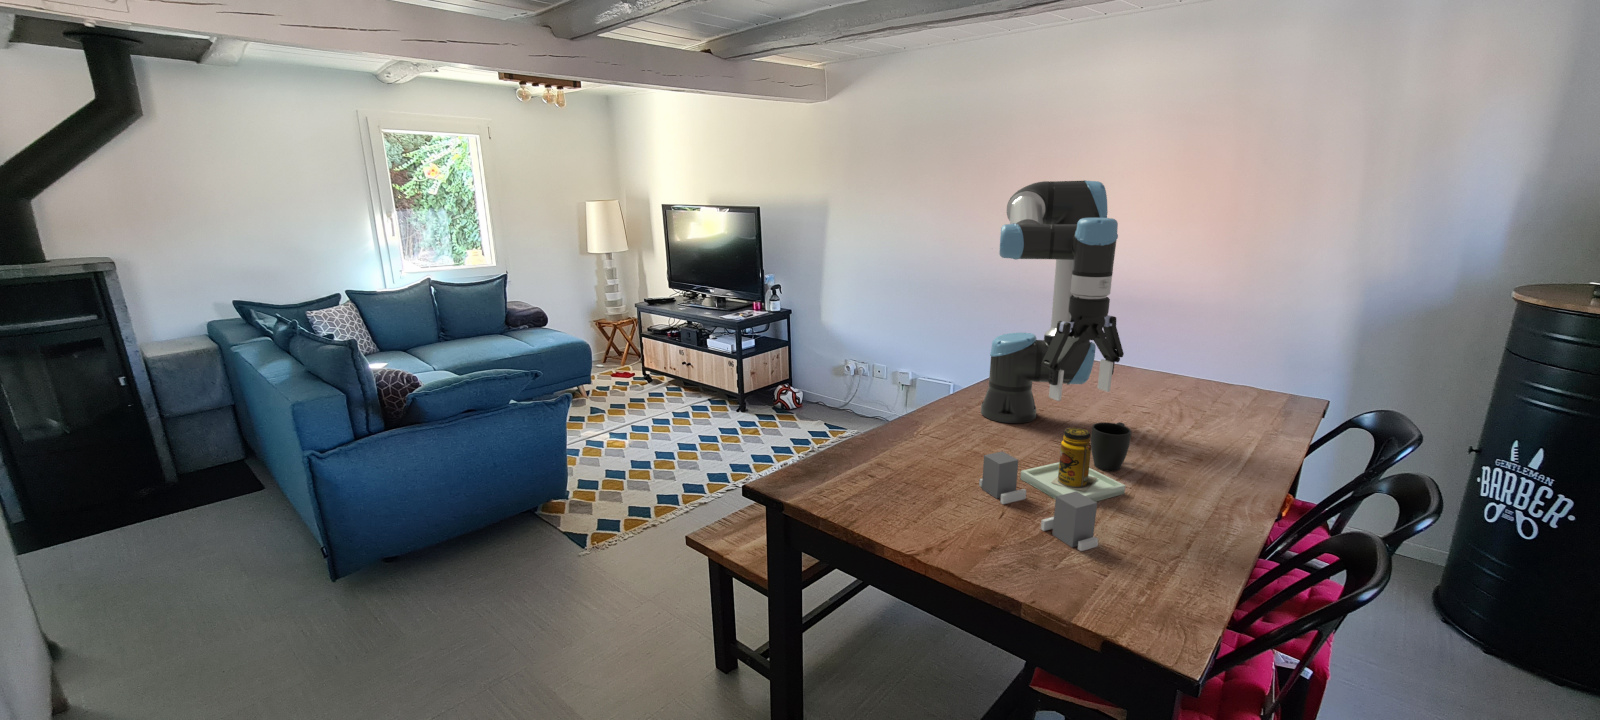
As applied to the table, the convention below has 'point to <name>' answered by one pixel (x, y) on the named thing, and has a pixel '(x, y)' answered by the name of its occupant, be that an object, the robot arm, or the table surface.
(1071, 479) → the condiment
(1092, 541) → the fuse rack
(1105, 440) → the mug
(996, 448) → the table surface
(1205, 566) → the table surface
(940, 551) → the table surface
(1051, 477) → the tray
